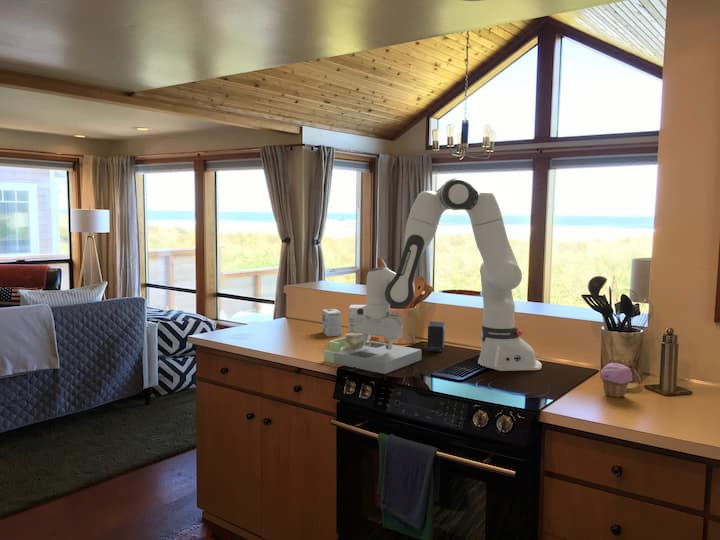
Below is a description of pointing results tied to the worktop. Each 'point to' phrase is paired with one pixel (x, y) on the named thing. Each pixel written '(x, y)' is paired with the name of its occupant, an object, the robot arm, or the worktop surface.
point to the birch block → (353, 340)
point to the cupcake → (615, 379)
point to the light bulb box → (331, 322)
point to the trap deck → (371, 356)
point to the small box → (436, 336)
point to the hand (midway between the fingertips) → (378, 347)
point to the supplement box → (353, 317)
